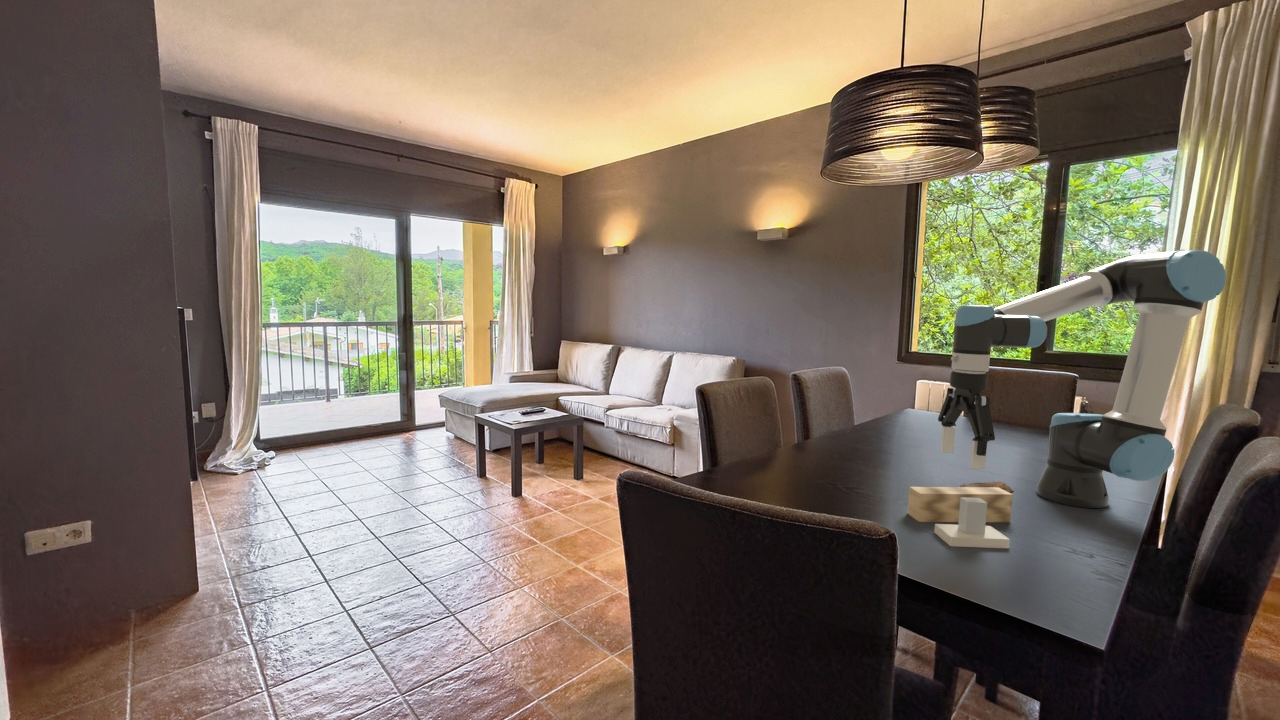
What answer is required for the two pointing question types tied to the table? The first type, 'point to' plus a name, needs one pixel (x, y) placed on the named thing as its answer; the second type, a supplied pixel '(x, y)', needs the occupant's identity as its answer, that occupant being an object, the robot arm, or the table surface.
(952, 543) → the stand
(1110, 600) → the table surface
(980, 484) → the wooden fragment
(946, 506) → the batten
